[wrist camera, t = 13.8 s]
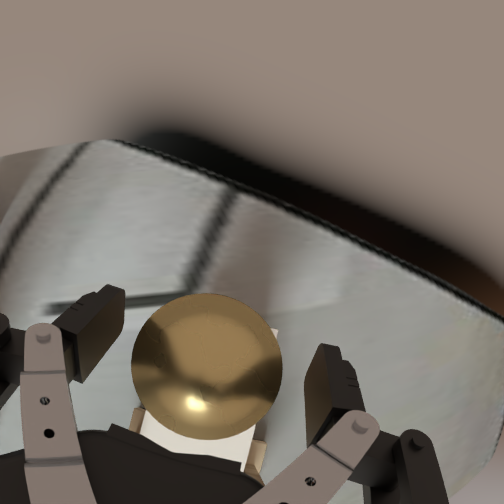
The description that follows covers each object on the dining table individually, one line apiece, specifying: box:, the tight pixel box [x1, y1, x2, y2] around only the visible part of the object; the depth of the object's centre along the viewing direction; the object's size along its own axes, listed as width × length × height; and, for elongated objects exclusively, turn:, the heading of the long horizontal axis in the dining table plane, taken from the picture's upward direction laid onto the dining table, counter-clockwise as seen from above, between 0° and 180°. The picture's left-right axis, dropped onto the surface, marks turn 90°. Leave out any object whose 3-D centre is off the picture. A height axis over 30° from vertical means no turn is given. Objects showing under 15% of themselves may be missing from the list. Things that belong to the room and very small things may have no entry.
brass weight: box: [131, 293, 282, 440], centre depth 15 cm, size 6×6×9 cm
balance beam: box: [140, 328, 278, 472], centre depth 16 cm, size 7×25×2 cm, turn 167°
